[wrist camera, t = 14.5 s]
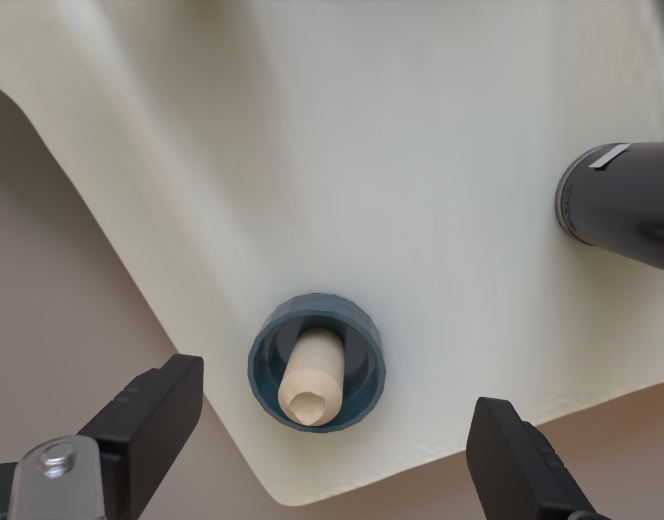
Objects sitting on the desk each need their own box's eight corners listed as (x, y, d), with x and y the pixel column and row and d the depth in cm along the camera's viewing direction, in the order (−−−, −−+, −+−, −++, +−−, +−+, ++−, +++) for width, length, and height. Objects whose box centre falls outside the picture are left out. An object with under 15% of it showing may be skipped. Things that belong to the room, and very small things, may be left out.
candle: (341, 377, 41) (336, 442, 32) (291, 369, 42) (271, 432, 32) (348, 331, 40) (346, 384, 30) (296, 323, 40) (277, 374, 31)
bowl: (367, 280, 39) (369, 296, 34) (392, 392, 42) (397, 421, 37) (245, 304, 41) (230, 324, 36) (278, 411, 44) (268, 442, 39)
